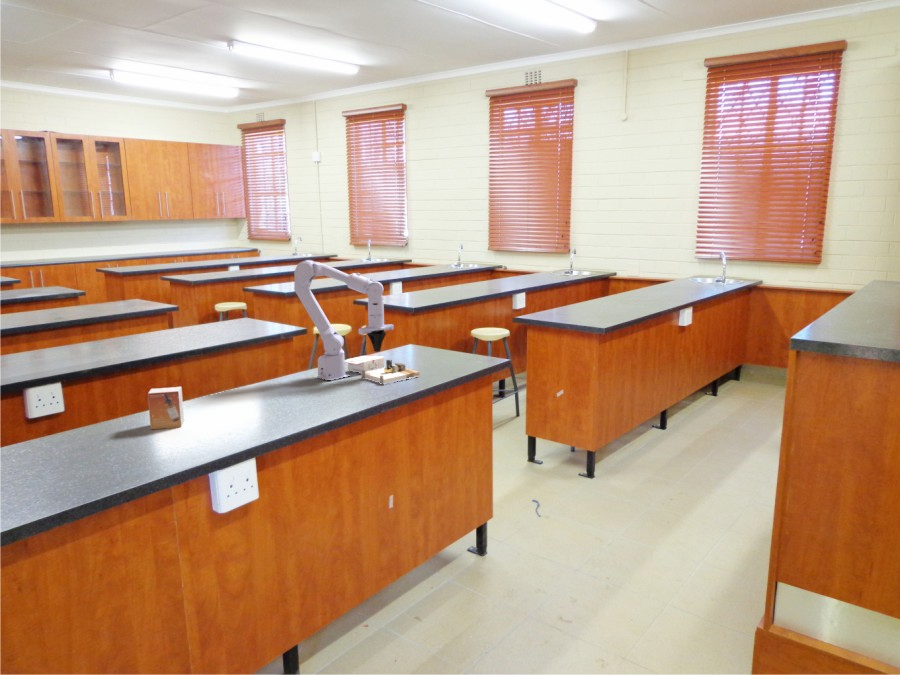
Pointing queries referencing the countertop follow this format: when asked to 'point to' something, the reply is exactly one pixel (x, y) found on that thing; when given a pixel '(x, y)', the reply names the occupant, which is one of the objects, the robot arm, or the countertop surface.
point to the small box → (166, 407)
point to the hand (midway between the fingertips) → (377, 351)
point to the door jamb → (407, 370)
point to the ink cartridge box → (365, 363)
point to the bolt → (390, 366)
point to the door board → (383, 375)
